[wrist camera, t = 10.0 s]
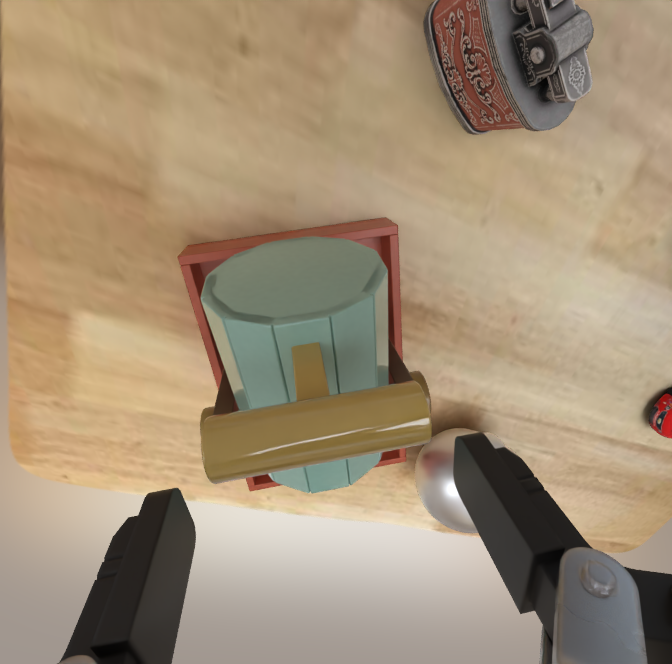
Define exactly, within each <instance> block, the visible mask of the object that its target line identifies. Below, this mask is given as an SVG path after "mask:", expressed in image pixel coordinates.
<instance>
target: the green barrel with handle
mask: <svg viewBox="0 0 672 664" xmlns="http://www.w3.org/2000/svg"><path fill="white" fill-rule="evenodd" d="M200 299H201V302H202V305H203V308H204V311H205V313H206V316H207V319H208V322H209V325H210V328H211V331H212V334H213V336H214V339H215V342H216V345H217V348H218V351H219V354H220V357H221V359H222V362H223V365H224V368H225V371H226V374H227V377H228V380H229V382H230V385H231V388H232V391H233V394H234V397H235V400H236V403H237V405H238V408H239V411H236V412H230V413H225V414H219V415H213V416H209V417H207V418H206V419H205V421H204V423H203V427H202V433H201V452H202V460H203V465H204V469H205V472H206V474H207V477H208V479H209V480H210V482H212V483H214V484H217V483H222V482H228V481H233V480H238V479H244V478H249V477H254V476H259V475H265V474H268V475H269V476H270V477H271V479H272V480H273V481H275V482H276V483H278V484H281V485H284V486H287V487H291V488H294V489H297V490H300V491H303V492H306V493H310V491H311V493H317V492H322V491H327V490H332V489H337V488H342V487H347V486H349V484H350V485H352V484H353V483H355V482H356V481H357V480H358V479H360V478H361V477H362V476H363V475H364V474H366V473H367V472H368V471H369V470H371V469H372V468H373V467H374V466H376V465H377V464H378V463H379V462H378V461H380V459H381V456H382V453H383V452H386V451H391V450H396V449H402V448H407V447H412V446H418V445H423V444H427V443H429V442H430V441H431V437H432V422H431V415H430V410H429V406H428V403H427V400H426V397H425V394H424V392H423V390H422V388H421V386H420V385H419V383H418V382H417V381H413V380H412V381H407V382H401V383H395V384H389V376H388V269H387V268H386V266H385V264H384V263H383V261H382V259H381V258H380V256H379V254H378V253H377V251H375V250H374V249H372V248H369V247H367V246H364V245H362V244H359V243H357V242H354V241H351V240H349V239H347V240H346V239H343V238H328V237H314V236H310V237H308V236H307V237H300V238H293V239H286V240H279V241H272V242H270V243H269V242H267V243H264V244H262V245H259V246H256V247H254V248H251V249H248V250H245V251H243V252H240V253H237V254H234V256H231V257H230V258H228V259H227V260H226V261H224V262H223V263H222V264H221V265H219V266H218V267H217V268H215V269H214V270H213V271H211V272H210V273H209V274H208V276H206V279H205V282H204V286H203V290H202V294H201V298H200Z"/></svg>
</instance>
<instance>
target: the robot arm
mask: <svg viewBox="0 0 672 664" xmlns="http://www.w3.org/2000/svg"><path fill="white" fill-rule="evenodd" d="M453 477H454V482H455V486H456V489H457V492H458V494H459V496H460V498H461V500H462V502H463V504H464V506H465V508H466V510H467V512H468V514H469V516H470V517H471V519H472V521H473V523H474V525H475V527H476V529H477V531H478V533H479V535H480V537H481V539H482V540H483V542H484V544H485V546H486V548H487V550H488V552H489V554H490V556H491V558H492V560H493V561H494V564H495V565H496V568H497V569H498V571H499V573H500V575H501V577H502V579H503V581H504V583H505V585H506V587H507V588H508V591H509V593H510V595H511V596H512V598H513V600H514V602H515V604H516V606H517V608H518V610H519V612H520V614H522V613H527V612H531V611H536V613H537V615H538V617H539V619H540V620H541V622H542V624H543V627H542V635H541V649H540V663H539V664H672V574H665V573H657V572H650V571H642V570H635V569H630V568H626V567H623V566H622V565H621V564H620V563H619V562H617V561H616V560H615V559H613V558H612V557H610V556H609V555H607V554H605V553H603V552H601V551H598V550H595V549H593V548H592V547H591V546H590V545H589V544H588V543H587V542H586V541H585V540H584V538H583V537H582V536H581V535H580V533H579V532H578V531H577V529H576V528H575V527H574V526H573V524H572V523H571V522H570V520H569V519H568V518H567V517H566V515H565V514H564V513H563V511H562V510H561V509H560V508H559V506H558V505H557V504H556V502H555V501H554V500H553V498H552V497H551V496H550V495H549V493H548V492H547V491H545V490H544V487H543V486H542V484H541V483H540V482H539V480H538V479H537V478H536V477H534V474H533V473H532V471H531V470H530V469H529V468H528V466H527V465H526V464H525V462H524V461H523V460H522V459H521V458H520V457H518V456H517V455H516V454H514V453H513V452H511V451H510V450H508V449H507V448H506V447H501V448H496V449H495V448H494V446H493V445H492V443H491V442H490V441H489V439H488V438H487V436H486V435H485V434H484V433H482V432H478V433H473V434H467V435H462V436H457V437H456V438H455V445H454V464H453ZM195 540H196V532H195V525H194V522H193V519H192V517H191V515H190V512H189V510H188V508H187V505H186V503H185V501H184V498H183V496H182V494H181V491H180V490H179V489H178V488H173V489H168V490H162V491H157V492H152V493H148V494H147V495H146V497H145V499H144V502H143V504H142V507H141V510H140V512H139V515H138V516H134V517H129V518H128V519H127V520H126V521H125V523H124V524H123V525H122V526H121V527H120V529H119V530H118V531H117V533H116V534H115V535H114V536H113V538H112V541H111V543H110V546H109V548H108V550H107V553H106V555H105V558H104V559H105V560H104V562H102V565H101V567H100V569H99V572H98V575H97V580H95V582H94V584H93V586H92V589H91V591H90V594H89V596H88V598H87V601H86V603H85V606H84V608H83V611H82V613H81V615H80V618H79V620H78V623H77V625H76V627H75V630H74V633H73V635H72V637H71V640H70V642H69V645H68V647H67V649H66V652H65V653H64V656H63V657H62V659H61V661H60V662H59V663H58V664H171V663H172V658H173V653H174V648H175V643H176V638H177V632H178V628H179V623H180V618H181V613H182V608H183V603H184V598H185V593H186V588H187V583H188V579H189V574H190V569H191V564H192V559H193V554H194V549H195Z"/></svg>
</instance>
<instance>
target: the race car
mask: <svg viewBox="0 0 672 664" xmlns="http://www.w3.org/2000/svg"><path fill="white" fill-rule="evenodd" d="M649 424H650V426H651V427H652V428H653V429H654V430H655V431H656V432H657V433H658V434H660V435H662V436H664V437H667V438H672V388H669V389H668V390H667V393H666V394H665V395H663V396H662V397H661V398H660V399H659V400H658V401H657V402H656V404H655V405H654V407H653V408H652V410H651V412H650V415H649Z"/></svg>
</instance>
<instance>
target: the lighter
mask: <svg viewBox="0 0 672 664" xmlns="http://www.w3.org/2000/svg"><path fill="white" fill-rule="evenodd" d="M593 30H594V29H593V25H592V20H591V17H590V15H589V14H588V12H587V11H585V10H583V9H581V8H580V7H579V6H578V5H575V2H574V0H435V1H434V2H433V3H432V4H431V5H430V6H429V8H428V10H427V12H426V14H425V18H424V33H425V37H426V42H427V46H428V51H429V55H430V59H431V62H432V65H433V68H434V71H435V74H436V77H437V80H438V83H439V86H440V88H441V90H442V92H443V94H444V96H445V98H446V100H447V102H448V104H449V107H450V109H451V110H452V112H453V113H454V115H455V116H456V118H457V119H458V121H459V122H460V124H461V126H462V127H463V129H464V130H465V131H466V132H468V133H470V134H484V133H487V132H490V131H492V130H502V129H516V128H525V129H527V130H530V131H544V130H550V129H552V128H554V127H556V126H558V125H560V124H561V123H562V122H563V121H564V120H565V119H566V118H567V117H568V116H569V114H570V113H571V111H572V110H573V107H574V105H575V102H576V100H578V99H580V98H582V97H583V96H585V95H586V94H587V93H588V92H589V91H590V89H591V87H592V83H593V82H592V75H591V71H590V67H589V62H588V58H587V54H586V50H587V48H588V44H589V42H590V41H591V39H592V37H593Z"/></svg>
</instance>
